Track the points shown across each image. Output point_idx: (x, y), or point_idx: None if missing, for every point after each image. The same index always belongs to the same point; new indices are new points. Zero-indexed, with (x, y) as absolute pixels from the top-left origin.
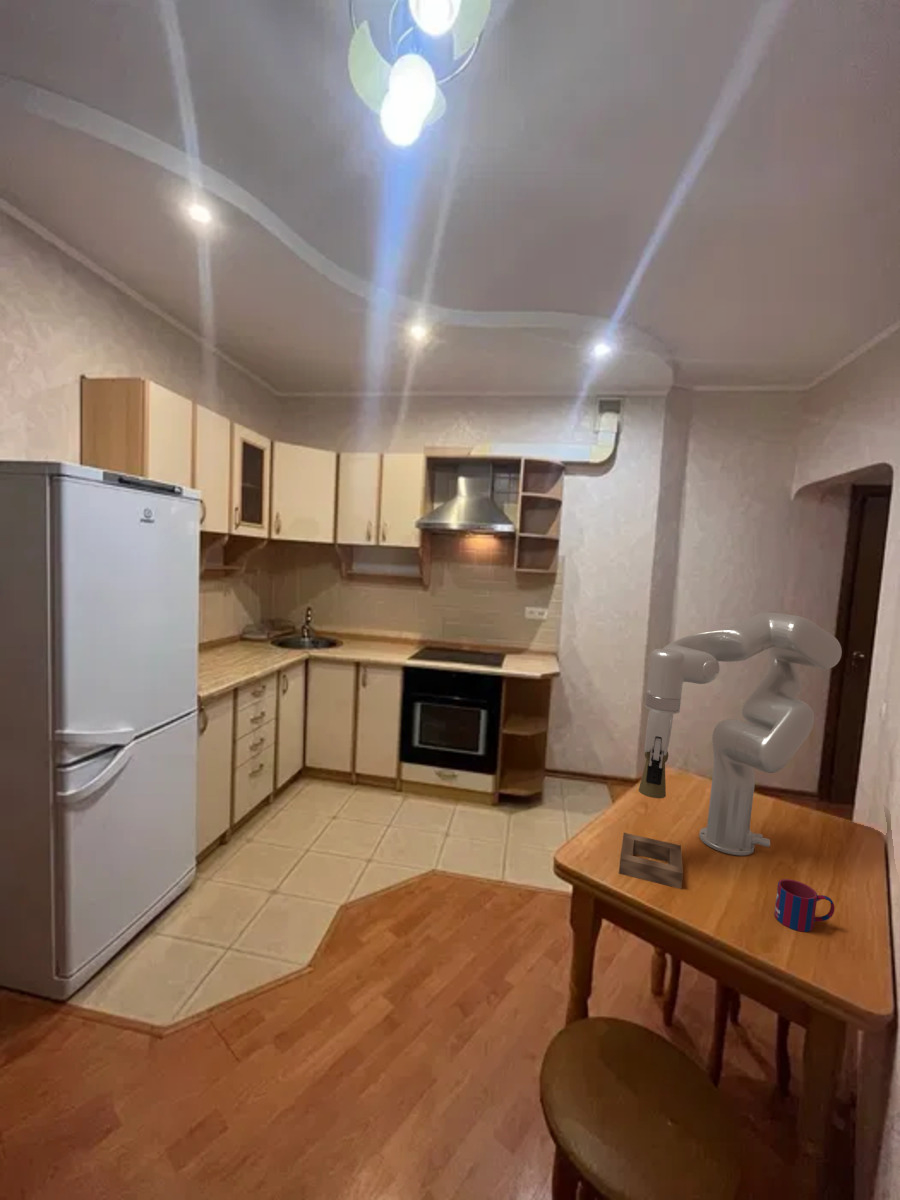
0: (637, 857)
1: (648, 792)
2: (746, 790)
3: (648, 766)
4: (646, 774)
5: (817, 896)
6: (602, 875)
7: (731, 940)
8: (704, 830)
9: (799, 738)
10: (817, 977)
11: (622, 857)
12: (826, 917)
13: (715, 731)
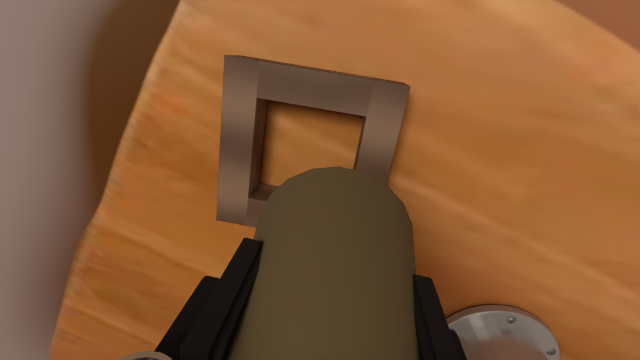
0: (251, 112)
1: (259, 219)
2: None
3: (187, 342)
4: (266, 267)
5: None
6: (211, 4)
7: (96, 250)
8: (531, 328)
9: None
10: (72, 338)
11: (233, 63)
12: None
13: None
